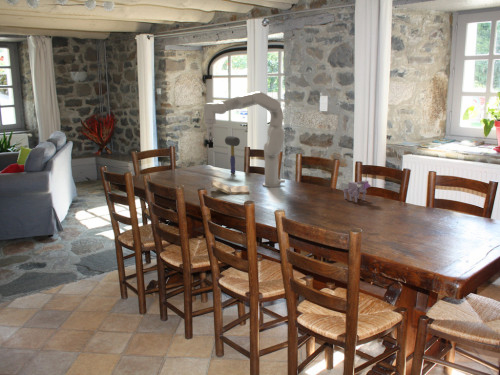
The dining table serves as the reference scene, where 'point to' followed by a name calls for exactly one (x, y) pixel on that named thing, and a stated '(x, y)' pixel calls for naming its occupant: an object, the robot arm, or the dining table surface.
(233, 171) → the rubber mallet
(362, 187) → the toy sheep
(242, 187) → the laid board
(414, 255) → the dining table surface
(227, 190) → the oak plank
